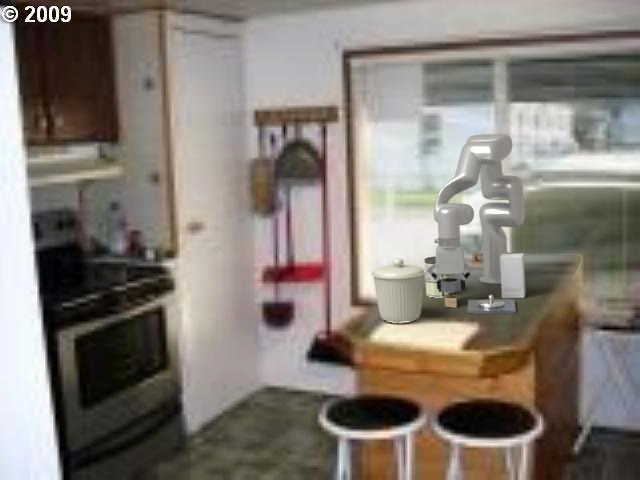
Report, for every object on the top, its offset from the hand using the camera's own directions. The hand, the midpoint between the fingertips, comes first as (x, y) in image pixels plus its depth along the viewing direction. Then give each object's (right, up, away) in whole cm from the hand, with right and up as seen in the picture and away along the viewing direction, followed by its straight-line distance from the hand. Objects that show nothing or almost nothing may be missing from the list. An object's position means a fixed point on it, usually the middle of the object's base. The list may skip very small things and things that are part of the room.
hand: (451, 290), depth 282 cm
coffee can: (-2, -3, +17) cm, 17 cm away
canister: (-20, -9, -16) cm, 27 cm away
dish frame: (+31, +7, +71) cm, 77 cm away
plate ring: (0, 0, 0) cm, 0 cm away
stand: (0, -5, 0) cm, 5 cm away
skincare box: (+24, -3, +8) cm, 26 cm away
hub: (+13, -6, -6) cm, 15 cm away
